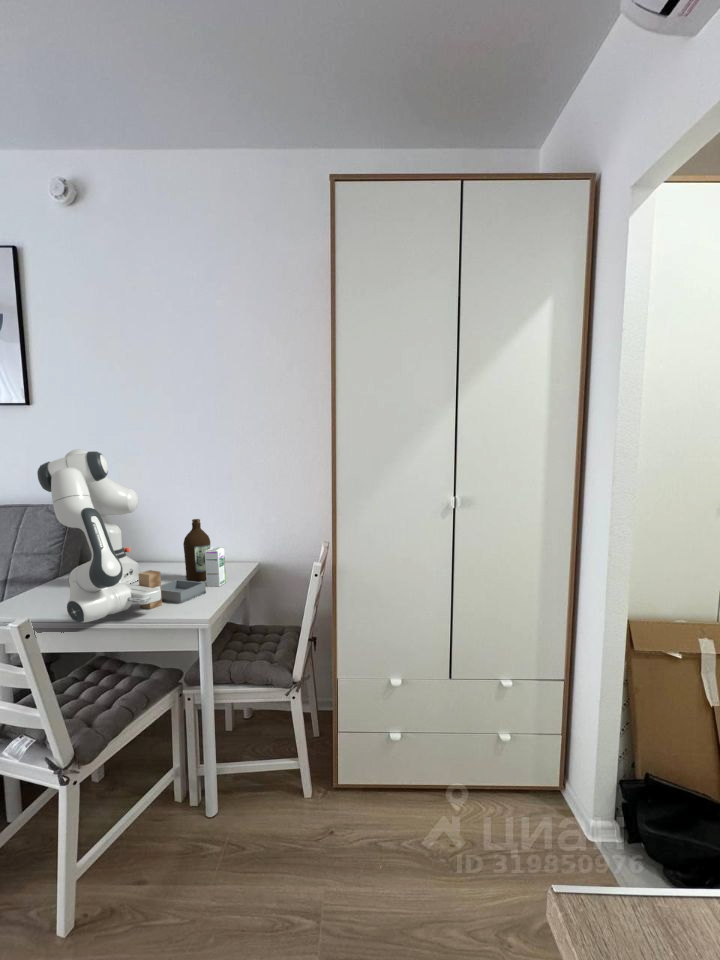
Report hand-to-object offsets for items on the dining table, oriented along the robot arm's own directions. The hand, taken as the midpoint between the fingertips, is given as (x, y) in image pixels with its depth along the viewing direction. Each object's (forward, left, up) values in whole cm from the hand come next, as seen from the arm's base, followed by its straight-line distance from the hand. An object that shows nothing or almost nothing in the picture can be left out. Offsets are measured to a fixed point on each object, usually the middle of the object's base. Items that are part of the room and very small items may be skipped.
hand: (152, 587), depth 193 cm
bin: (-12, +1, -7) cm, 14 cm away
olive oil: (-34, -8, -7) cm, 36 cm away
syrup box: (-30, +4, -7) cm, 31 cm away
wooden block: (+1, 0, -7) cm, 7 cm away
